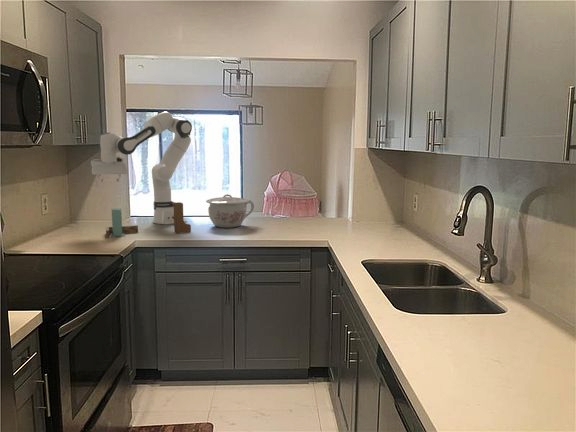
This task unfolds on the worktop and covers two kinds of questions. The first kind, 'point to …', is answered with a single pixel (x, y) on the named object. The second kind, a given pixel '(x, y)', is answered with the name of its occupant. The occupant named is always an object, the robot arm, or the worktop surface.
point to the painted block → (116, 222)
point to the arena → (124, 230)
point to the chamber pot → (228, 211)
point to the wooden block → (180, 219)
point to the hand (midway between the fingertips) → (109, 181)
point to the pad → (117, 236)
